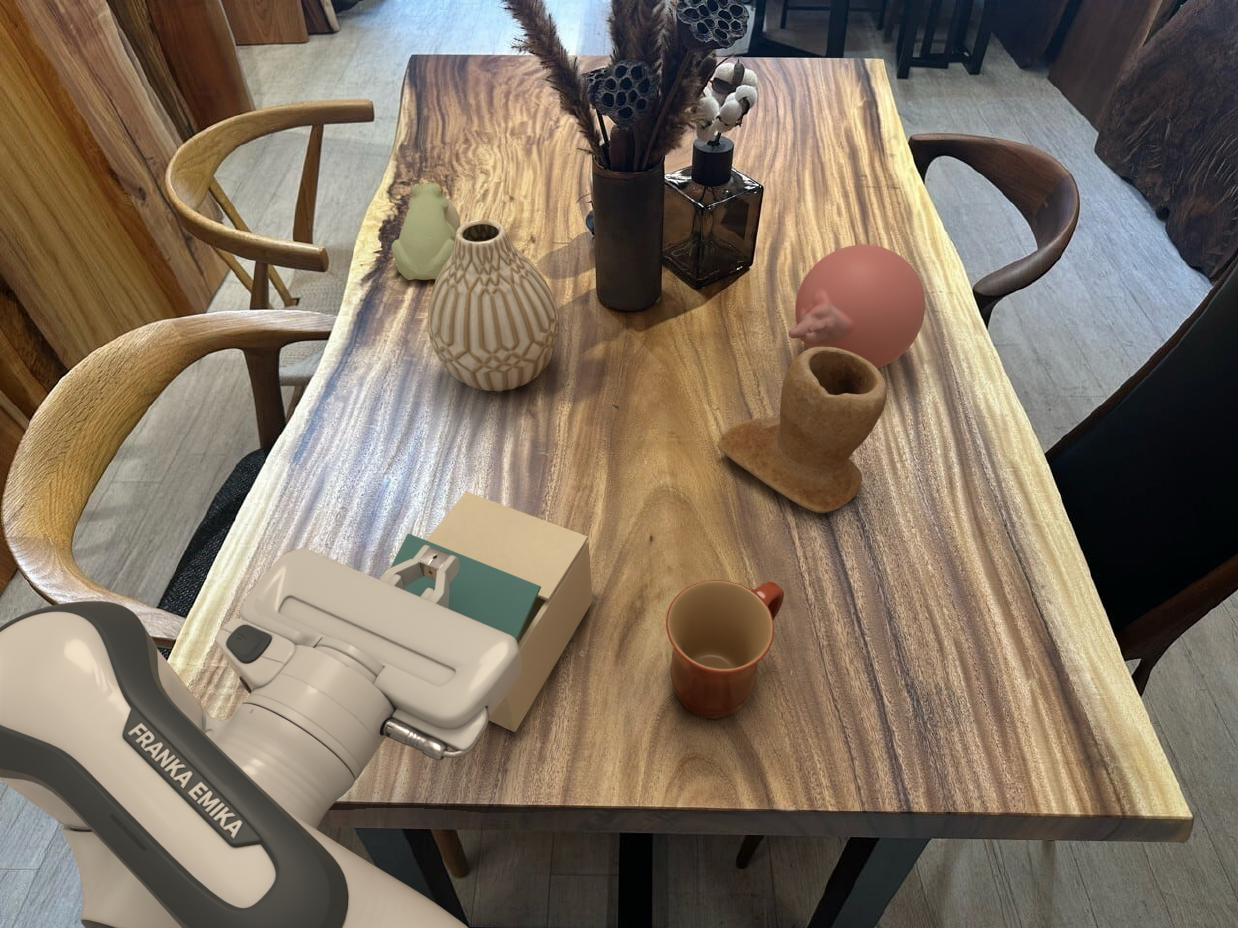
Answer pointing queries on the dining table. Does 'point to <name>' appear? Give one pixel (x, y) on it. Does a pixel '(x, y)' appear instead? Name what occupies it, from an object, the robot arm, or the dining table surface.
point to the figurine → (426, 233)
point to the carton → (538, 559)
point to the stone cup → (813, 429)
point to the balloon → (861, 304)
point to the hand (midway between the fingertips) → (443, 555)
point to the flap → (478, 590)
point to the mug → (719, 643)
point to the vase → (491, 311)
